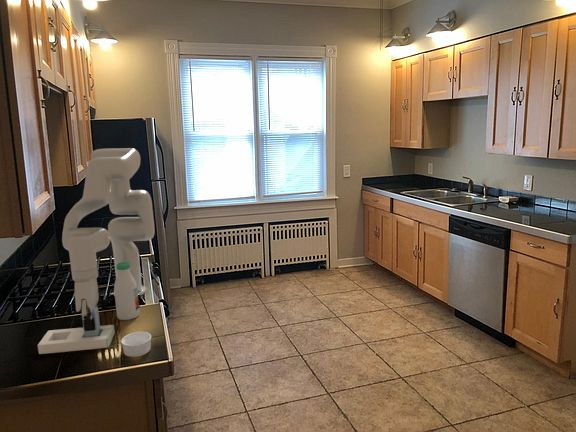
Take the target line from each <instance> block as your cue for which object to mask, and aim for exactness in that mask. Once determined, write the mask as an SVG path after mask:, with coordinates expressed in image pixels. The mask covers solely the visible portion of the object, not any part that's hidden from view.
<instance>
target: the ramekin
mask: <svg viewBox="0 0 576 432" xmlns="http://www.w3.org/2000/svg"><path fill="white" fill-rule="evenodd" d="M151 341H152V335H151V333H150V332H147V331H135V332H131V333H129V334H126V335H125V336H122V338H121V340H120V343H121V345H122V350H123V353H124V355H125V356H127V357H130V358H137V357H141V356H144V355H146V354H147V353H149V352H150V351H151V348H152V342H151Z"/></svg>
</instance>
